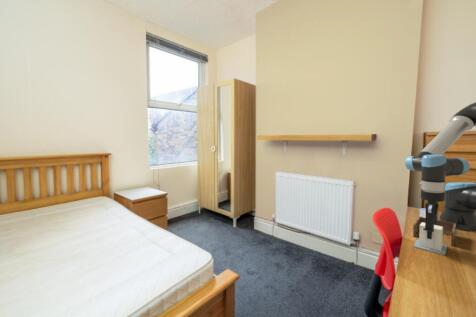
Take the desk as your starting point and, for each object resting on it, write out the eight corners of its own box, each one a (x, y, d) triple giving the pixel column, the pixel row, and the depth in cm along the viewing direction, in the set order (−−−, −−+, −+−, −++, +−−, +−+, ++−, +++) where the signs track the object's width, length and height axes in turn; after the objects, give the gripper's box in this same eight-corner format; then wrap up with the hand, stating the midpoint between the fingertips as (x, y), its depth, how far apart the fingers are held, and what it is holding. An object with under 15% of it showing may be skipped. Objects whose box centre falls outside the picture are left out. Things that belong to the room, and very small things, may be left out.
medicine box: (438, 229, 109) (439, 213, 108) (428, 229, 110) (429, 212, 109) (428, 223, 117) (428, 208, 116) (418, 223, 118) (419, 207, 117)
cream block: (421, 241, 97) (421, 222, 96) (442, 246, 91) (443, 226, 91) (418, 245, 93) (419, 225, 93) (440, 250, 88) (441, 230, 87)
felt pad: (417, 239, 99) (417, 238, 99) (447, 246, 92) (447, 245, 92) (413, 246, 93) (413, 245, 93) (445, 255, 85) (445, 254, 85)
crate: (418, 227, 112) (418, 216, 111) (455, 235, 102) (455, 223, 101) (413, 236, 102) (413, 224, 102) (453, 246, 92) (453, 233, 92)
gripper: (424, 185, 100) (422, 233, 101) (416, 193, 87) (415, 247, 89) (446, 188, 94) (444, 238, 96) (442, 196, 81) (439, 254, 83)
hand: (430, 242), depth 92 cm, fingers open, 6 cm apart
